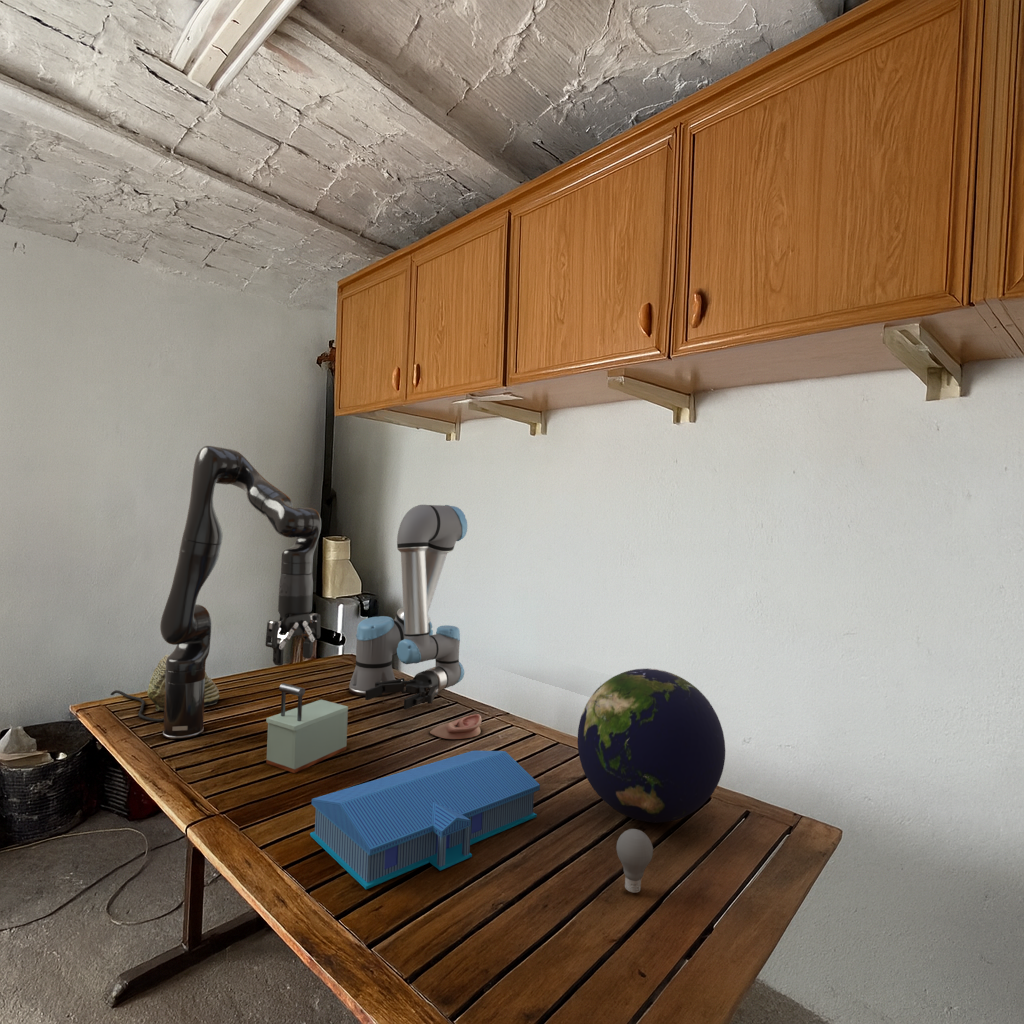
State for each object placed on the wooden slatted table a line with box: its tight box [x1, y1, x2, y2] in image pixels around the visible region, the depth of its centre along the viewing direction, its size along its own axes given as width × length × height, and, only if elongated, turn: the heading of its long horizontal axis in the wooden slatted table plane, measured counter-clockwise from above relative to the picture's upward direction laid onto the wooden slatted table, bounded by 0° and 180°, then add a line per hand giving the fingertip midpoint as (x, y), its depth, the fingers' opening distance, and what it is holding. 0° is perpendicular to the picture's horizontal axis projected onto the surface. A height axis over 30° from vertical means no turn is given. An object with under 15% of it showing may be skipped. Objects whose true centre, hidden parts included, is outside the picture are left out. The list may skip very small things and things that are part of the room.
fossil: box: [147, 654, 221, 712], centre depth 185 cm, size 9×18×15 cm, turn 132°
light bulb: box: [615, 828, 654, 894], centre depth 106 cm, size 6×6×10 cm
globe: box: [577, 667, 726, 824], centre depth 132 cm, size 30×30×30 cm
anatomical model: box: [429, 713, 482, 740], centre depth 174 cm, size 13×4×12 cm
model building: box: [309, 750, 541, 890], centre depth 123 cm, size 39×24×10 cm, turn 132°
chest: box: [265, 710, 349, 774], centre depth 154 cm, size 17×9×10 cm, turn 151°
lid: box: [265, 682, 349, 731], centre depth 154 cm, size 17×9×9 cm, turn 151°
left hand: (293, 661), depth 149 cm, fingers open, 8 cm apart
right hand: (385, 699), depth 177 cm, fingers open, 13 cm apart
